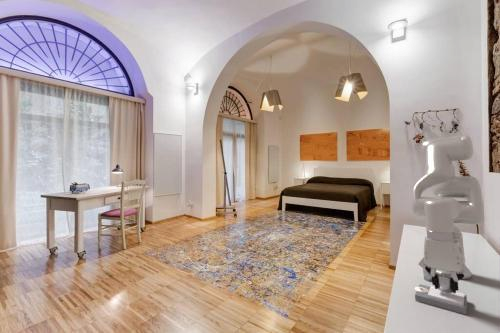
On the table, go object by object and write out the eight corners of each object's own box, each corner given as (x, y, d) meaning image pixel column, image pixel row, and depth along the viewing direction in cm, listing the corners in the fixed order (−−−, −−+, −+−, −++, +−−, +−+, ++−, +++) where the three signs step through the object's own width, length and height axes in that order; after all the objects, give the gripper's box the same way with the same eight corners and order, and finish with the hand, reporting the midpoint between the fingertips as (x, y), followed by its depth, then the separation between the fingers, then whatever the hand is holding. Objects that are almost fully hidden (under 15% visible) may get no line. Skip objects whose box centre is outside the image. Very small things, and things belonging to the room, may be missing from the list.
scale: (417, 288, 87) (416, 281, 88) (467, 301, 78) (466, 293, 78) (412, 299, 80) (411, 291, 81) (466, 314, 71) (465, 305, 71)
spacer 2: (438, 286, 81) (437, 271, 81) (453, 289, 78) (452, 274, 78) (437, 290, 78) (435, 275, 78) (452, 294, 75) (451, 278, 75)
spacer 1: (424, 276, 97) (423, 265, 97) (436, 279, 94) (435, 267, 95) (423, 280, 94) (422, 267, 95) (435, 282, 91) (434, 270, 92)
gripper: (474, 236, 76) (479, 293, 75) (413, 230, 87) (417, 279, 86) (474, 242, 70) (480, 302, 69) (409, 234, 82) (413, 286, 81)
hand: (445, 289), depth 78 cm, fingers closed on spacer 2, 4 cm apart
